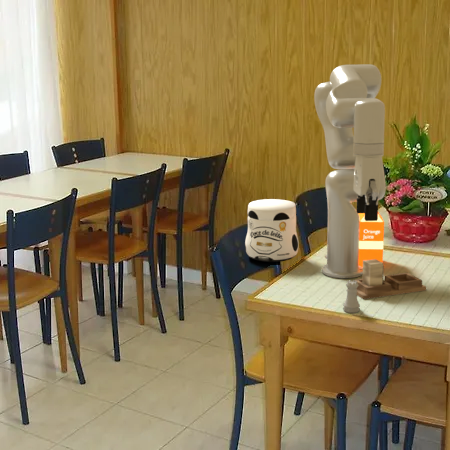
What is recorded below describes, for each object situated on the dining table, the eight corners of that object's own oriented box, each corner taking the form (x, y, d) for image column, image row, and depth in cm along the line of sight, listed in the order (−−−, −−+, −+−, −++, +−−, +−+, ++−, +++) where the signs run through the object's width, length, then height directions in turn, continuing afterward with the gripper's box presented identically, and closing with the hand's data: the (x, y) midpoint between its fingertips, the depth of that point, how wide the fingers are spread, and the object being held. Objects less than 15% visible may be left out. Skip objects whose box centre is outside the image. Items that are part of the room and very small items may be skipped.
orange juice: (379, 259, 232) (382, 198, 227) (382, 267, 224) (385, 204, 219) (355, 259, 233) (356, 198, 228) (357, 267, 225) (359, 204, 220)
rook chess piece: (358, 307, 192) (358, 278, 190) (361, 313, 187) (362, 284, 185) (341, 307, 192) (342, 278, 190) (344, 313, 187) (345, 284, 185)
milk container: (254, 268, 226) (254, 212, 221) (238, 253, 242) (238, 200, 237) (306, 263, 230) (307, 208, 225) (287, 248, 246) (287, 196, 242)
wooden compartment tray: (349, 290, 204) (349, 259, 202) (409, 281, 211) (411, 252, 209) (363, 299, 197) (364, 267, 195) (426, 290, 204) (427, 259, 201)
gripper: (347, 146, 190) (345, 210, 194) (360, 154, 173) (359, 224, 177) (375, 146, 190) (373, 210, 194) (391, 153, 173) (389, 223, 177)
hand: (366, 216), depth 185 cm, fingers open, 9 cm apart
